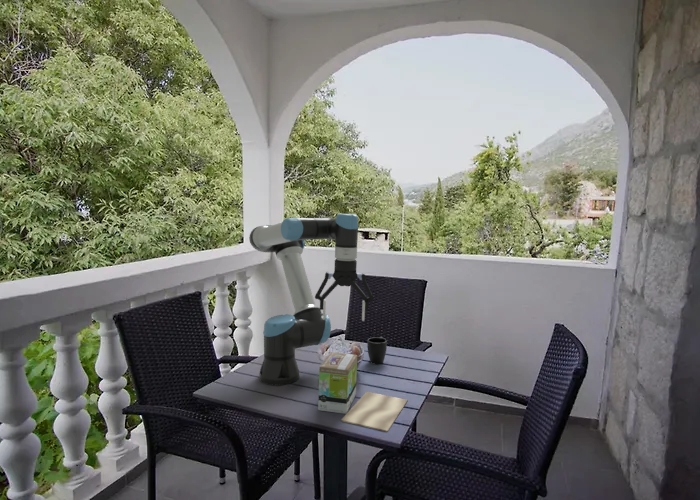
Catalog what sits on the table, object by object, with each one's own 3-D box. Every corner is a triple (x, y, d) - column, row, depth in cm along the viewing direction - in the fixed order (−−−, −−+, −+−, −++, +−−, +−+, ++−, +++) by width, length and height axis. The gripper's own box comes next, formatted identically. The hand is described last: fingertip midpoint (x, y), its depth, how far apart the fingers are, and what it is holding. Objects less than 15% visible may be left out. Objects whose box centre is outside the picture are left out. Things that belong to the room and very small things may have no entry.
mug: (391, 357, 184) (391, 336, 183) (382, 366, 173) (383, 344, 172) (373, 354, 187) (373, 333, 186) (364, 363, 176) (364, 341, 175)
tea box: (347, 414, 132) (348, 369, 131) (317, 411, 134) (317, 366, 133) (356, 394, 147) (357, 353, 145) (329, 391, 149) (329, 351, 147)
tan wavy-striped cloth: (340, 420, 128) (340, 419, 128) (366, 392, 148) (366, 391, 148) (387, 431, 122) (387, 430, 122) (407, 400, 142) (407, 399, 142)
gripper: (308, 259, 139) (306, 321, 141) (383, 262, 139) (380, 323, 142) (310, 256, 146) (308, 315, 149) (381, 258, 147) (378, 317, 149)
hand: (343, 319), depth 145 cm, fingers open, 13 cm apart
